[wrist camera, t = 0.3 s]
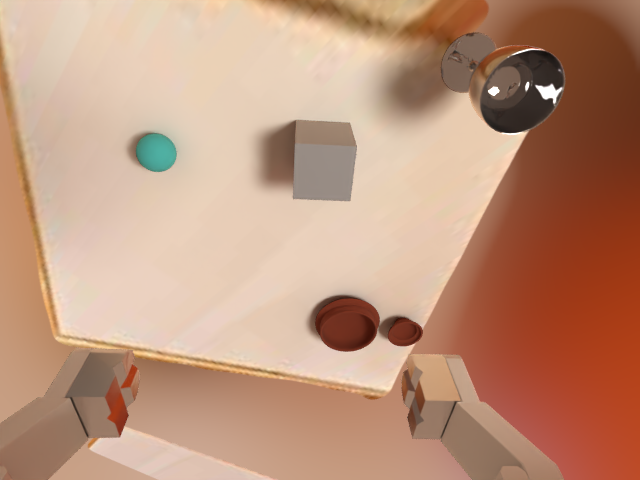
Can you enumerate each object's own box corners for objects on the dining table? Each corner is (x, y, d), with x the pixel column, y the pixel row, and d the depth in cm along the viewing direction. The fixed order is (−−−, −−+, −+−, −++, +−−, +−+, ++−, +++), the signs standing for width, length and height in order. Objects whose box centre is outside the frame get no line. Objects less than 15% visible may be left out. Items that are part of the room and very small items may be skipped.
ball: (140, 127, 54) (126, 140, 50) (178, 129, 55) (167, 142, 50) (146, 162, 57) (134, 177, 53) (182, 163, 57) (173, 178, 53)
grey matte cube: (296, 120, 54) (294, 143, 47) (349, 122, 55) (356, 146, 48) (294, 170, 58) (293, 198, 51) (344, 172, 59) (350, 201, 52)
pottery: (322, 286, 71) (323, 303, 67) (428, 302, 74) (435, 319, 70) (309, 332, 77) (309, 350, 74) (407, 345, 80) (412, 363, 77)
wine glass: (447, 106, 54) (489, 147, 42) (430, 47, 50) (472, 73, 37) (506, 79, 52) (569, 113, 40) (494, 16, 48) (560, 32, 36)
